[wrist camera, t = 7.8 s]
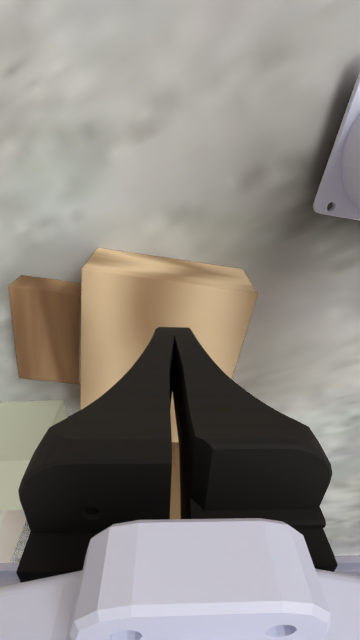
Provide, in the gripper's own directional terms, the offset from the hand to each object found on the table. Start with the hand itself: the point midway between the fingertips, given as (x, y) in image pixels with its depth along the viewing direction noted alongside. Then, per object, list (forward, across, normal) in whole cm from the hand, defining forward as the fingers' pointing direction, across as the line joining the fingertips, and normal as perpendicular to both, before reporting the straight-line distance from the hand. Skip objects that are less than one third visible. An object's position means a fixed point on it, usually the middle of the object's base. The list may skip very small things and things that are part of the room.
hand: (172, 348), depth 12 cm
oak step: (+10, +1, +6) cm, 12 cm away
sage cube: (+10, +12, +16) cm, 22 cm away
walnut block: (+9, +6, +5) cm, 12 cm away
